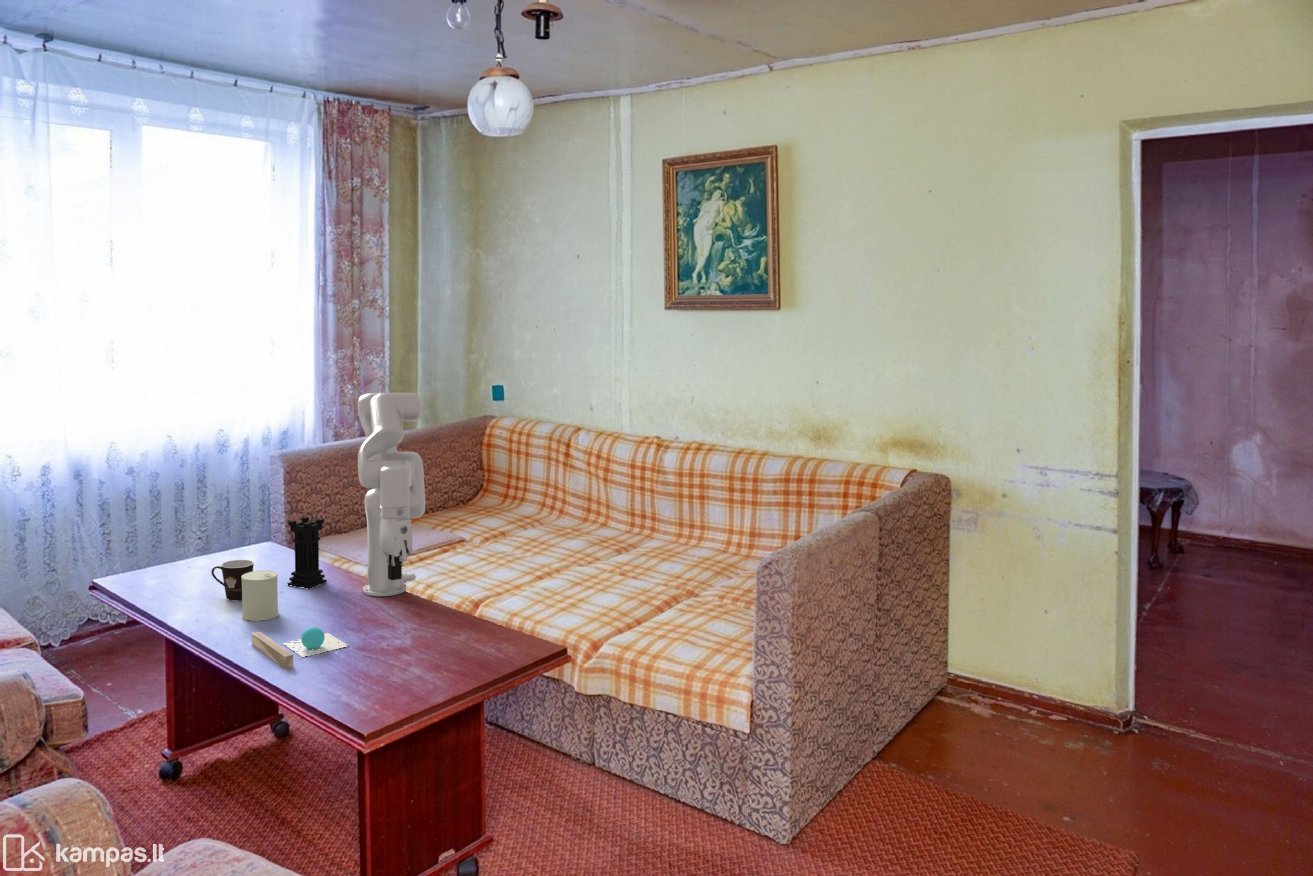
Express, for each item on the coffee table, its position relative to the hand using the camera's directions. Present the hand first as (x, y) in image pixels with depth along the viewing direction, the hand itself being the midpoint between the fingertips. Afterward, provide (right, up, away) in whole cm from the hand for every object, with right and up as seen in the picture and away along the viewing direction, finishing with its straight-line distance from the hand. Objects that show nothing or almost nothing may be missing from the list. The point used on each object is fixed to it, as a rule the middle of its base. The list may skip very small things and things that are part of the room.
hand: (394, 578), depth 248 cm
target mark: (-16, -15, -14) cm, 26 cm away
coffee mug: (-53, -9, +22) cm, 58 cm away
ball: (-16, -12, -16) cm, 26 cm away
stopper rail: (-24, -16, -21) cm, 36 cm away
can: (-39, -11, +6) cm, 41 cm away
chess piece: (-37, -7, +36) cm, 52 cm away
